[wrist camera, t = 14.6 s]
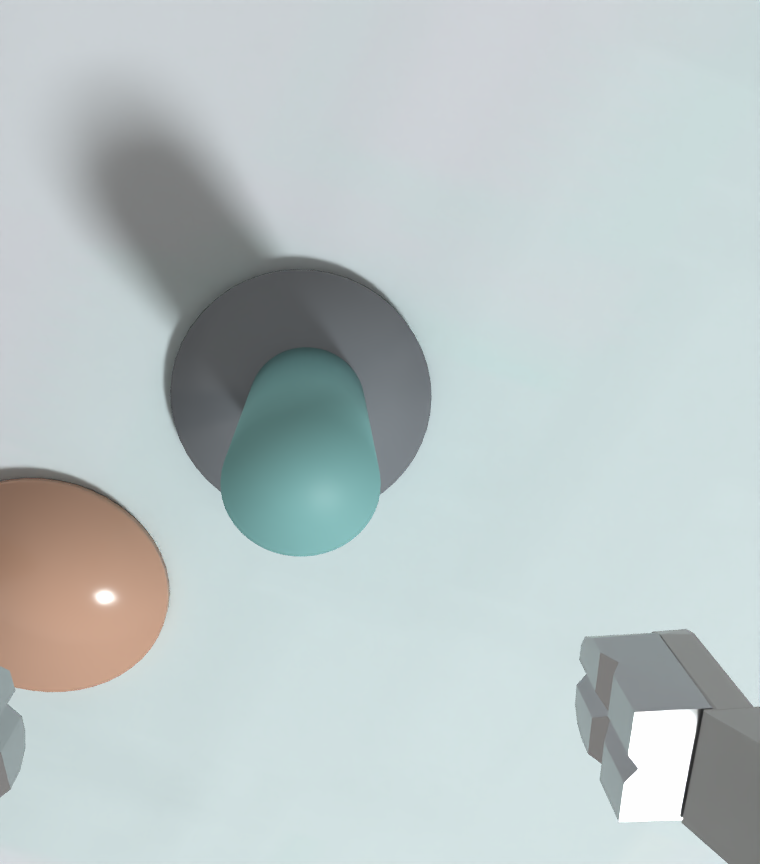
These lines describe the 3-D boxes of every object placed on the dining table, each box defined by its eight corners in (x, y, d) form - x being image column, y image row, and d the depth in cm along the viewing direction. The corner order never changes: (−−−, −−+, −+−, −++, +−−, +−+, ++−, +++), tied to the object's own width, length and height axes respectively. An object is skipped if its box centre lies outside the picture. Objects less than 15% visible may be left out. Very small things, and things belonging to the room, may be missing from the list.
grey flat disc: (430, 266, 23) (432, 267, 22) (428, 507, 26) (430, 512, 25) (157, 272, 22) (154, 274, 22) (188, 520, 25) (186, 525, 25)
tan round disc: (153, 472, 24) (151, 476, 24) (182, 676, 27) (180, 683, 27) (-109, 484, 24) (-116, 488, 23) (-51, 692, 27) (-56, 699, 26)
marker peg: (363, 345, 23) (380, 408, 16) (365, 455, 24) (381, 552, 18) (244, 349, 23) (213, 413, 16) (253, 459, 24) (227, 560, 18)
